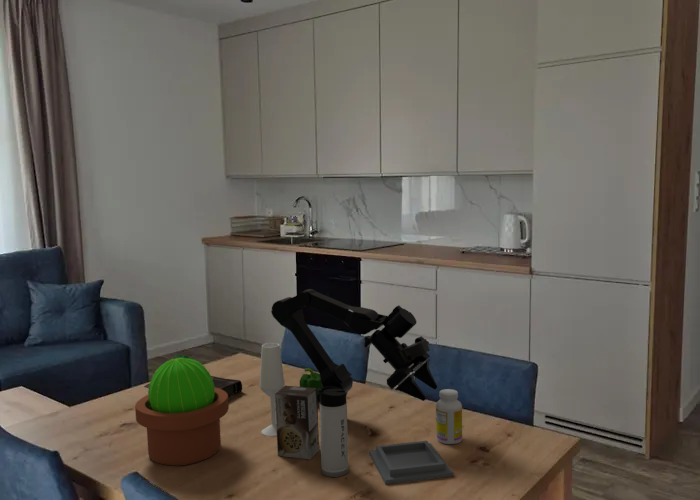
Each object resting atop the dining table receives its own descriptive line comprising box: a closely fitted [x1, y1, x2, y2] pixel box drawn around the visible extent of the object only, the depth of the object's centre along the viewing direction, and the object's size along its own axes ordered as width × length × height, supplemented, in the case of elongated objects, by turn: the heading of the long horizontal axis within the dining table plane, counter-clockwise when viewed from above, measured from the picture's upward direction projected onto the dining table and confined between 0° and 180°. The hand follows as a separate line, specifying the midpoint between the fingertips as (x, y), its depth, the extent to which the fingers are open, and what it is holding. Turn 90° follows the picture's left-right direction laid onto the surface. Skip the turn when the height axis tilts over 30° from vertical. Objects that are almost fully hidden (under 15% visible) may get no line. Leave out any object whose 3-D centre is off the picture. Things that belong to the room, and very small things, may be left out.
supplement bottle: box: [435, 388, 463, 445], centre depth 160 cm, size 7×7×13 cm
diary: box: [143, 375, 243, 398], centre depth 199 cm, size 19×25×5 cm
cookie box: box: [275, 385, 320, 460], centre depth 155 cm, size 9×6×16 cm
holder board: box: [368, 440, 454, 485], centre depth 148 cm, size 16×16×2 cm
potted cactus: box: [134, 354, 229, 467], centre depth 157 cm, size 22×22×25 cm
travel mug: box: [318, 387, 349, 478], centre depth 144 cm, size 6×7×20 cm
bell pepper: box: [299, 367, 323, 403], centre depth 192 cm, size 8×8×10 cm
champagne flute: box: [259, 342, 286, 437], centre depth 168 cm, size 7×7×24 cm
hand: (430, 393), depth 162 cm, fingers open, 9 cm apart
